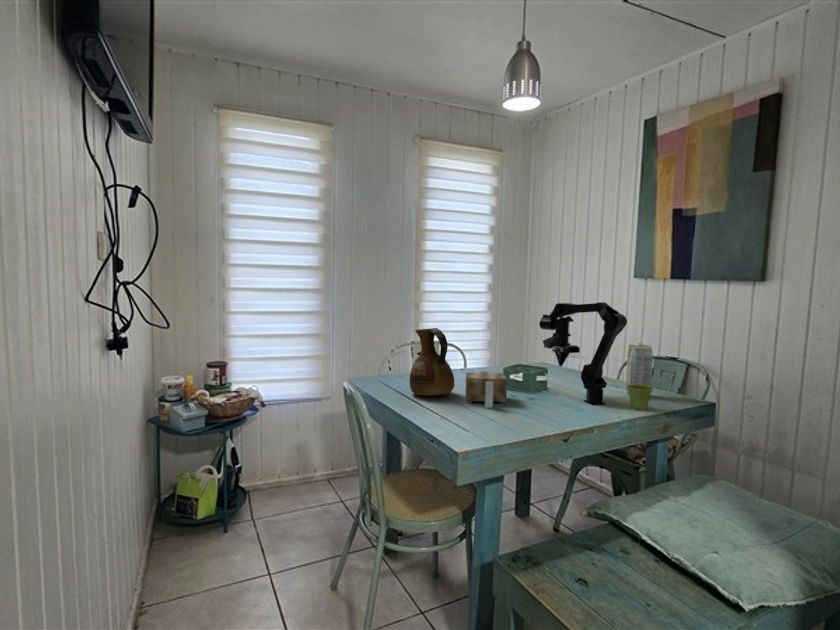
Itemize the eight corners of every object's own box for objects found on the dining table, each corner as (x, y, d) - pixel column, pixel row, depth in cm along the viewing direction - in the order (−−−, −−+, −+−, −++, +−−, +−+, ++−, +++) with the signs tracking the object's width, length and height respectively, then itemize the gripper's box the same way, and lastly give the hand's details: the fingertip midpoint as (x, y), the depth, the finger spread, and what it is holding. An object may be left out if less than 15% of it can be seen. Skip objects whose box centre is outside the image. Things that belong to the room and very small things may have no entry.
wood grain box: (502, 397, 203) (502, 373, 202) (506, 404, 191) (506, 379, 190) (465, 396, 204) (466, 372, 203) (467, 403, 192) (467, 378, 191)
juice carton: (645, 394, 212) (647, 341, 210) (652, 398, 204) (654, 344, 202) (624, 393, 213) (626, 341, 211) (630, 397, 205) (632, 343, 203)
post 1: (486, 393, 210) (487, 371, 209) (487, 394, 207) (487, 372, 206) (479, 393, 210) (480, 371, 209) (480, 394, 207) (480, 372, 206)
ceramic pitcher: (427, 387, 219) (428, 324, 217) (463, 394, 207) (464, 327, 204) (399, 395, 204) (400, 327, 202) (436, 403, 191) (437, 330, 189)
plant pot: (657, 410, 185) (658, 388, 184) (639, 412, 182) (640, 390, 181) (638, 404, 194) (639, 383, 193) (621, 406, 190) (622, 385, 190)
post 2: (491, 406, 188) (492, 381, 187) (492, 408, 185) (493, 383, 184) (484, 406, 188) (485, 381, 187) (485, 408, 185) (485, 383, 184)
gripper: (534, 329, 213) (533, 363, 214) (558, 334, 195) (557, 370, 197) (555, 328, 216) (554, 362, 218) (581, 333, 199) (579, 369, 200)
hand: (560, 366), depth 208 cm, fingers closed
